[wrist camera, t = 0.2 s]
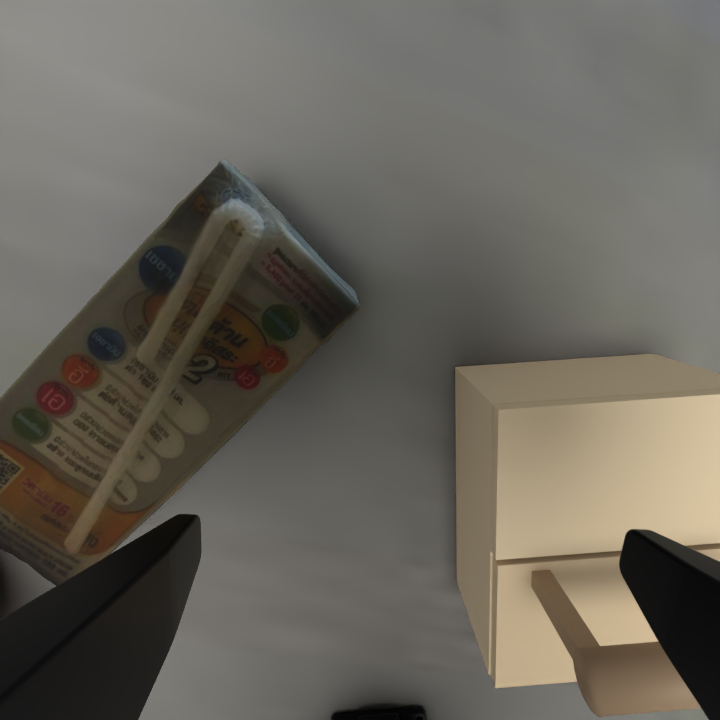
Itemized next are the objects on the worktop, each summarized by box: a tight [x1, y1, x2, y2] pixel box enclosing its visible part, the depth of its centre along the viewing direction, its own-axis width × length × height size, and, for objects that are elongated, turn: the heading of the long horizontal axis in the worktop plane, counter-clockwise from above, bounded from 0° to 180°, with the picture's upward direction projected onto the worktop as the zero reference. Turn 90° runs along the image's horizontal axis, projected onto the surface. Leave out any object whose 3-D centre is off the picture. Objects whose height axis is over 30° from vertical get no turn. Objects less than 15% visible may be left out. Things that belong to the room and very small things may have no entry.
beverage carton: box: [0, 161, 360, 586], centre depth 19 cm, size 8×19×7 cm, turn 134°
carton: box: [455, 353, 720, 675], centre depth 21 cm, size 14×11×7 cm
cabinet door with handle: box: [491, 543, 720, 717], centre depth 16 cm, size 7×11×6 cm, turn 94°
